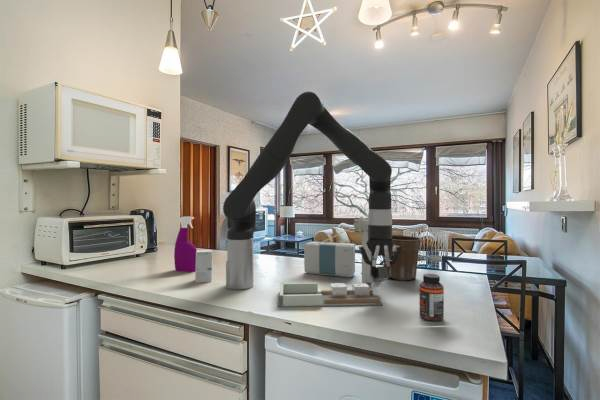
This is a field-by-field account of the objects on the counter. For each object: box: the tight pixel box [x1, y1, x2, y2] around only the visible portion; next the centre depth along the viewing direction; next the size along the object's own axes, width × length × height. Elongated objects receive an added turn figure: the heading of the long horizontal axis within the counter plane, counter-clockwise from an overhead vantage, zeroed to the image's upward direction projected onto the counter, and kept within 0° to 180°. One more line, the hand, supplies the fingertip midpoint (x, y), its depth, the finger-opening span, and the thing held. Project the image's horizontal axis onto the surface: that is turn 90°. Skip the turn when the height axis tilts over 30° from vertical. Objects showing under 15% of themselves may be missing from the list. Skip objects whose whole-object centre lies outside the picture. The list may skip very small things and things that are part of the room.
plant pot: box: [388, 235, 423, 281], centre depth 128 cm, size 16×16×16 cm
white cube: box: [329, 282, 348, 298], centre depth 99 cm, size 4×4×4 cm
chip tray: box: [279, 282, 322, 306], centre depth 99 cm, size 12×14×3 cm
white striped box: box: [303, 227, 356, 278], centre depth 133 cm, size 21×8×20 cm, turn 67°
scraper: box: [370, 266, 390, 288], centre depth 102 cm, size 3×6×11 cm
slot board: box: [277, 289, 384, 308], centre depth 99 cm, size 31×14×1 cm, turn 93°
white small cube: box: [351, 282, 370, 298], centre depth 100 cm, size 4×4×4 cm
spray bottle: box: [173, 215, 198, 273], centre depth 136 cm, size 3×11×24 cm, turn 74°
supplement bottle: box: [418, 273, 445, 322], centre depth 83 cm, size 6×6×11 cm
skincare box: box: [194, 249, 214, 283], centre depth 120 cm, size 6×4×12 cm
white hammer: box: [353, 216, 371, 285], centre depth 119 cm, size 5×7×25 cm
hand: (379, 277), depth 100 cm, fingers closed on scraper, 3 cm apart
